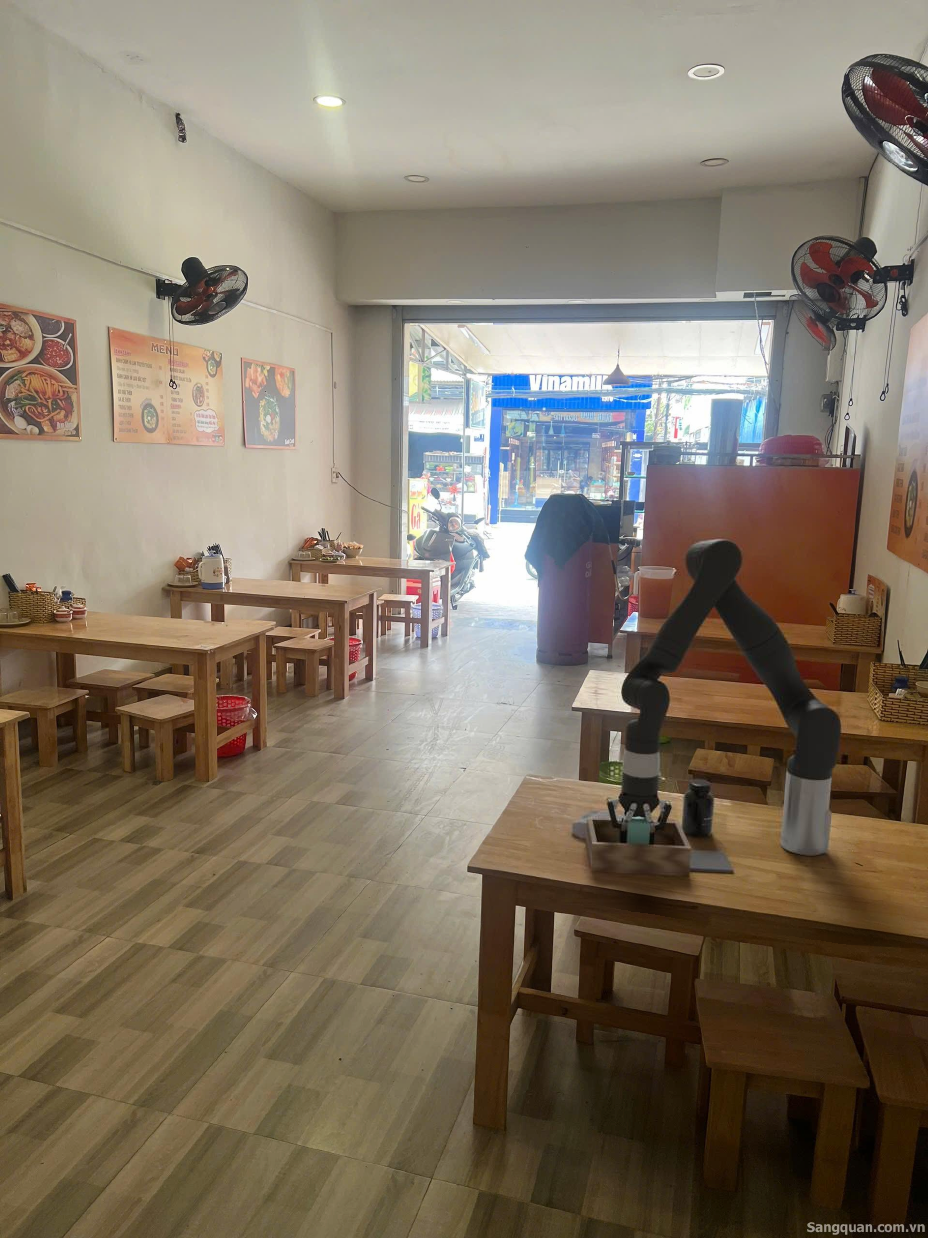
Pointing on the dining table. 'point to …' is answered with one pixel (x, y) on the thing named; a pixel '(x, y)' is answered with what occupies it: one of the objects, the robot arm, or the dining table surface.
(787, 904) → the dining table surface
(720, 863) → the mat
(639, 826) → the block
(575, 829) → the stone block
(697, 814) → the supplement bottle
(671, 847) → the crate
